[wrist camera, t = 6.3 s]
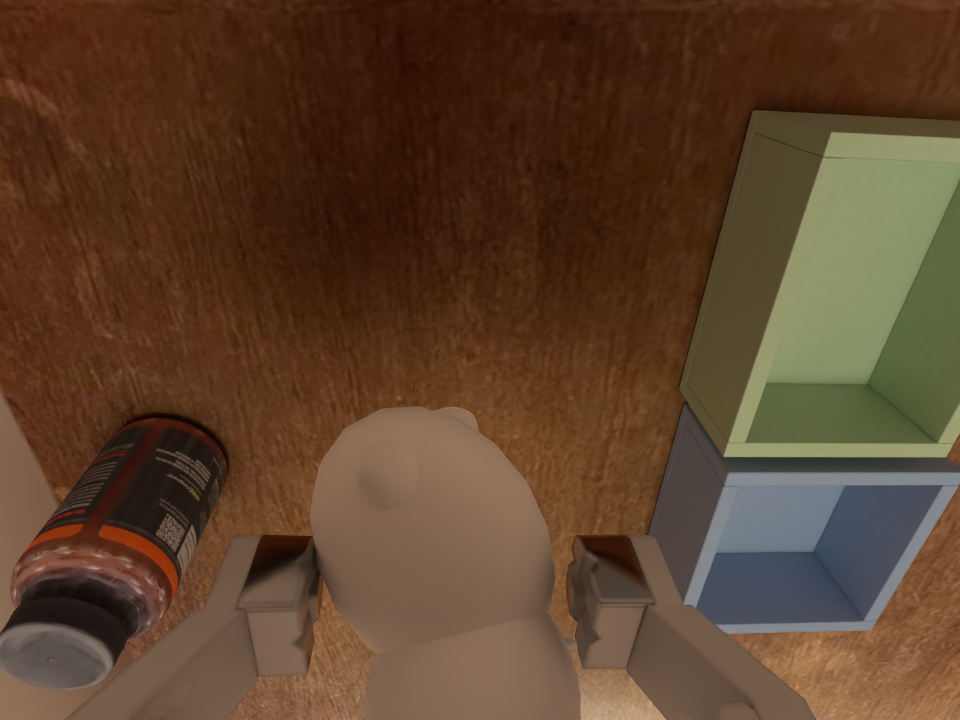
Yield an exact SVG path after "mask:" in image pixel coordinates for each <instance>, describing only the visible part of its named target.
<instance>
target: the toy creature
mask: <svg viewBox="0 0 960 720" xmlns="http://www.w3.org/2000/svg"><path fill="white" fill-rule="evenodd" d="M310 520H311V527H312V534H313V539H314V544H315V551H316V559H317V565H318V568H319V570H320V573H321V575H322V577H323V579H324V581H325V584H326V586H327V588H328V590H329V592H330V594H331V597H332V599H333V601H334V603H335V605H336V607H337V609H338V611H339V613H340V614H341V615H342V616H343V618H344V619H345V620H346V621H347V623H348V624H349V625H350V626H351V628H352V629H353V630H354V631H355V633H356V634H357V635H358V636H359V637H360V639H361V640H362V641H363V642H364V643H365V644H366V645H367V646H368V647H369V648H370V649H371V650H373V651H374V652H375V653H376V654H375V657H374V660H373V664H372V667H371V671H370V675H369V680H368V684H367V690H366V695H365V701H364V714H363V720H581V717H580V693H579V687H578V680H577V674H576V670H575V667H574V663H573V660H572V656H571V654H570V651H569V650H570V649H572V648H574V647H576V646H577V643H576V640H572V639H568V638H564V637H563V636H562V634H561V632H560V631H559V629H558V628H557V626H556V624H555V623H554V621H553V620H552V618H551V617H550V615H549V614H550V608H551V602H552V595H553V588H554V582H555V571H554V563H553V557H552V551H551V544H550V538H549V532H548V528H547V525H546V523H545V520H544V518H543V516H542V513H541V511H540V509H539V507H538V505H537V503H536V501H535V498H534V496H533V494H532V492H531V490H530V488H529V485H528V483H527V482H526V480H525V479H524V478H523V477H522V476H521V474H520V473H519V472H518V471H517V470H516V468H515V467H514V466H513V465H512V464H511V462H510V461H509V460H508V459H507V458H506V456H505V455H504V454H503V453H502V452H501V450H500V449H499V448H498V447H497V446H496V444H495V443H493V442H492V441H491V440H489V439H488V438H486V437H485V436H483V435H482V434H480V433H479V432H478V425H477V420H476V419H475V417H474V415H473V414H471V413H470V412H469V411H468V410H465V409H462V408H459V407H446V408H441V409H439V410H436V411H433V410H430V409H427V408H423V407H420V406H418V407H400V408H383V409H380V410H378V411H376V412H374V413H372V414H371V415H369V416H367V417H365V418H363V419H361V420H359V421H357V422H355V423H354V424H352V425H350V426H348V427H346V428H345V429H344V430H343V431H342V433H341V434H340V436H339V437H338V438H337V440H336V441H335V443H334V444H333V445H332V447H331V448H330V449H329V451H328V452H327V454H326V455H325V456H324V458H323V459H322V461H321V463H320V465H319V468H318V473H317V478H316V483H315V487H314V492H313V497H312V502H311V509H310Z"/></svg>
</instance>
